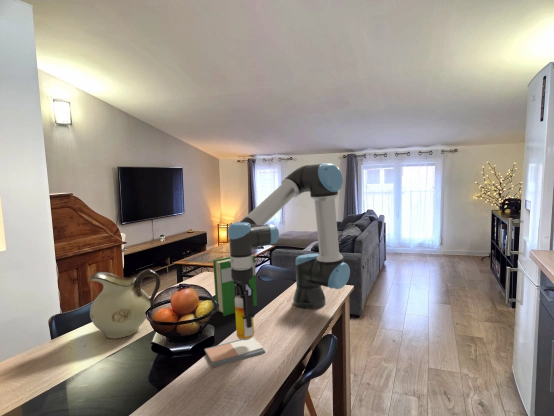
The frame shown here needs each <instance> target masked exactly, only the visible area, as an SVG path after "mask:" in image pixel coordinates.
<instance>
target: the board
mask: <svg viewBox="0 0 554 416" xmlns="http://www.w3.org/2000/svg"><path fill="white" fill-rule="evenodd" d="M204 352H205V355H206V356H207V358H208V360H209V362H210V363H211V365H212V368H216V367H220V366H223V365H225V364H226V365H227V364H230V363H232V362H233V363H234V362H237V361H240V360H244V359H247V358H251V357H253V356H258V355H261V354H265V353H266V351H265V349H264V347H263V345H261V344H260V343H259V341H258V340H257V339H256V338H255V337H254V336H253V337H252V338H251V339H249V340H240V339H238V340H234V341H231V342H225V343H221V344H218V345H214V346H210V347H206V348H204Z"/></svg>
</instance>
